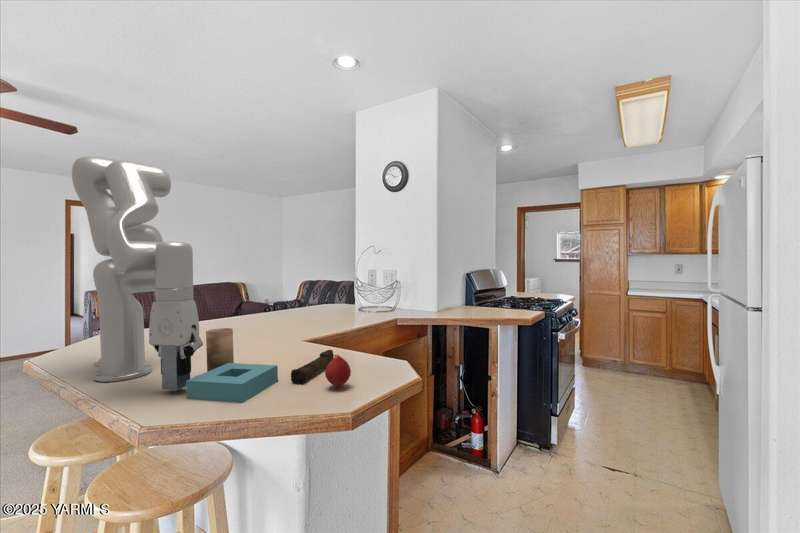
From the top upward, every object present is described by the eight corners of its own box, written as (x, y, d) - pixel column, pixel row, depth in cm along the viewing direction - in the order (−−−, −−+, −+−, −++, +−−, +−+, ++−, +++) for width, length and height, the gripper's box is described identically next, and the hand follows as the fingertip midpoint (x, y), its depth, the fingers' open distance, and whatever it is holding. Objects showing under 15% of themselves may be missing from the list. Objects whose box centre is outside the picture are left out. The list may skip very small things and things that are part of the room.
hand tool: (304, 386, 89) (303, 367, 89) (290, 384, 90) (289, 365, 90) (341, 364, 107) (341, 348, 107) (329, 363, 108) (329, 347, 108)
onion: (341, 381, 91) (340, 349, 91) (355, 387, 87) (355, 353, 87) (321, 388, 87) (320, 354, 87) (335, 394, 83) (334, 358, 83)
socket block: (186, 398, 82) (186, 380, 82) (229, 378, 96) (228, 362, 95) (242, 402, 79) (241, 383, 79) (277, 381, 93) (277, 365, 92)
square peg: (162, 389, 85) (161, 337, 84) (176, 383, 89) (175, 333, 88) (176, 390, 84) (175, 338, 84) (190, 384, 88) (189, 334, 87)
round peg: (201, 378, 96) (200, 332, 96) (218, 371, 102) (217, 327, 102) (223, 379, 95) (221, 333, 94) (239, 372, 101) (237, 328, 101)
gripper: (130, 296, 84) (132, 376, 84) (193, 298, 80) (194, 381, 81) (158, 292, 91) (160, 366, 92) (217, 294, 87) (218, 371, 88)
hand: (176, 372), depth 86 cm, fingers closed on square peg, 4 cm apart
